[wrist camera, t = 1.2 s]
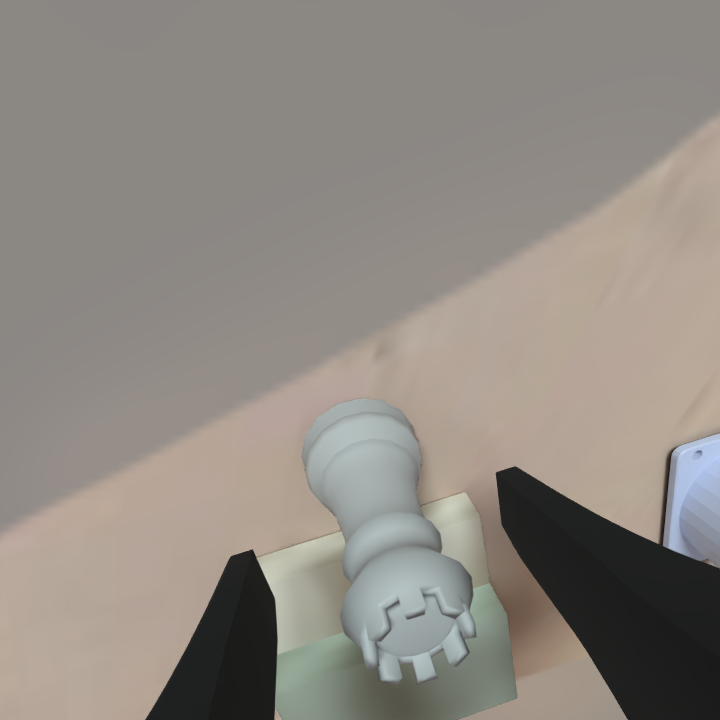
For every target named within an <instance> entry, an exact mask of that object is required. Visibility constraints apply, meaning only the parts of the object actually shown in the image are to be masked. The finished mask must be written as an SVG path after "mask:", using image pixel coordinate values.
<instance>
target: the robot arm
mask: <svg viewBox="0 0 720 720" xmlns="http://www.w3.org/2000/svg"><path fill="white" fill-rule="evenodd" d="M496 479H497V488H498V496H499V505H500V514H501V523H502V526H503V528H504V530H505V531H506V533H507V535H508V537H509V539H510V540H511V542H512V544H513V546H514V548H515V549H516V551H517V553H518V554H519V556H520V558H521V559H522V561H523V562H524V564H525V565H526V566H527V568H528V569H529V571H530V572H531V573H532V575H533V576H534V578H535V579H536V580H537V582H538V583H539V585H540V586H541V587H542V589H543V590H544V591H545V593H546V594H547V596H548V597H549V598H550V600H551V601H552V602H553V604H554V605H555V607H556V608H557V609H558V611H559V612H560V613H561V615H562V616H563V618H564V619H565V620H566V622H567V623H568V625H569V626H570V627H571V629H572V630H573V631H574V633H575V634H576V636H577V637H578V639H579V640H580V642H581V643H582V645H583V646H584V648H585V649H586V651H587V652H588V654H589V656H590V657H591V659H592V660H593V662H594V664H595V665H596V667H597V669H598V670H599V672H600V673H601V675H602V677H603V679H604V680H605V682H606V684H607V685H608V687H609V688H610V690H611V692H612V693H613V695H614V697H615V699H616V700H617V702H618V704H619V705H620V707H621V709H622V711H623V712H624V714H625V716H626V717H627V719H628V720H720V433H719V434H716V435H712V436H709V437H706V438H703V439H700V440H697V441H694V442H691V443H687V444H684V445H681V446H679V447H677V448H676V449H675V450H674V451H673V453H672V456H671V465H670V476H669V486H668V497H667V507H666V518H665V528H664V539H663V546H662V545H660V544H657V543H655V542H653V541H650V540H648V539H646V538H644V537H641V536H639V535H637V534H635V533H633V532H631V531H629V530H627V529H625V528H623V527H621V526H619V525H617V524H615V523H613V522H611V521H609V520H607V519H605V518H603V517H601V516H599V515H597V514H596V513H594V512H592V511H590V510H588V509H587V508H585V507H583V506H581V505H579V504H578V503H576V502H574V501H572V500H571V499H569V498H567V497H565V496H564V495H562V494H560V493H559V492H557V491H555V490H554V489H552V488H550V487H549V486H547V485H545V484H544V483H542V482H540V481H539V480H537V479H536V478H534V477H532V476H531V475H529V474H527V473H526V472H524V471H522V470H521V469H519V468H517V467H516V466H515V467H511V468H508V469H505V470H502V471H499V472H496ZM706 559H709V560H710V561H711V562H713V563H714V564H715V565H716V566H718V567H719V568H717V567H715V566H712V565H709V564H706V563H704V562H701V561H703V560H706ZM277 647H278V635H277V617H276V603H275V597H274V595H273V593H272V591H271V589H270V586H269V584H268V582H267V580H266V578H265V575H264V573H263V571H262V569H261V567H260V564H259V562H258V560H257V558H256V556H255V553H254V551H253V549H252V550H249V551H246V552H243V553H240V554H237V555H233V556H231V557H230V559H229V560H228V563H227V565H226V567H225V569H224V571H223V574H222V576H221V578H220V580H219V582H218V585H217V587H216V589H215V591H214V593H213V595H212V598H211V600H210V602H209V604H208V606H207V608H206V610H205V612H204V614H203V616H202V618H201V620H200V622H199V624H198V626H197V628H196V630H195V632H194V634H193V636H192V638H191V640H190V642H189V644H188V646H187V648H186V650H185V652H184V654H183V655H182V657H181V659H180V661H179V663H178V665H177V666H176V668H175V670H174V672H173V674H172V676H171V677H170V679H169V681H168V683H167V684H166V686H165V688H164V690H163V691H162V693H161V695H160V696H159V698H158V700H157V702H156V703H155V705H154V707H153V708H152V710H151V711H150V713H149V715H148V716H147V718H146V719H145V720H274V715H275V694H276V672H277Z"/></svg>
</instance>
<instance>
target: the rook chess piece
mask: <svg viewBox="0 0 720 720" xmlns="http://www.w3.org/2000/svg"><path fill="white" fill-rule="evenodd" d="M302 459H303V463H304V466H305V473H306V476H307V480H308V483H309V487H310V489H311V491H312V493H313V494H314V495H315V496H316V497H317V498H318V500H319V501H320V502H321V503H322V504H323V505H324V506H325V507H326V508H328V509H329V510H330V511H331V512H332V514H333V515H334V516H336V518H337V520H338V523H339V526H340V529H341V531H342V534H343V537H344V539H345V547H344V551H343V555H342V559H341V565H342V568H343V572H344V576H345V577H346V578H347V579H348V580H349V581H350V582H351V583H352V585H351V587H350V588H349V590H348V592H347V593H346V595H345V598H344V601H343V605H342V609H341V613H340V620H341V623H342V626H343V630H344V633H345V635H346V636H347V637H348V638H349V639H351V640H352V641H353V642H354V643H355V644H356V645H357V646H359V647H360V648H361V649H362V651H363V657H364V660H365V664H366V668H367V671H370V670H372V669H374V668H376V667H377V672H378V677H379V682H383V683H387V684H391V685H394V686H397V685H398V684H399V682H400V681H401V679H402V674H401V670H400V666H399V664H412V667H413V671H414V674H415V678H416V681H417V685H419V684H422V683H425V682H428V681H432V680H435V679H438V676H437V673H436V670H435V667H434V664H433V661H432V658H431V657H433V656H435V655H436V654H438V653H440V652H441V651H443V650H444V651H445V653H446V656H447V659H448V662H449V663H450V664H452V665H454V666H455V667H457V666H458V665H459V664H460V663H461V662H462V661H463V660H464V659H465V658H466V657H467V656H468V654H469V653H470V652H469V649H468V647H467V644H466V642H465V640H464V639H469V638H475V637H477V636H476V627H475V621H474V619H473V617H472V615H471V613H470V607H471V604H472V600H473V596H474V594H473V584H472V577H471V575H470V574H469V573H468V571H467V570H466V569H465V568H464V566H463V565H462V564H461V563H460V562H459V561H457V560H454V559H452V558H450V557H447V556H445V555H443V554H441V551H442V541H441V534H440V532H439V531H438V530H437V528H436V527H435V526H434V525H433V523H432V522H431V521H429V520H427V519H425V517H424V514H423V512H422V510H421V506H420V502H419V498H418V494H417V490H416V487H417V484H418V480H419V472H420V469H421V466H422V464H421V455H420V448H419V441H418V439H417V437H416V436H415V435H414V430H413V426H412V425H411V423H410V422H409V421H408V419H407V418H406V416H405V415H404V413H403V412H402V411H401V410H399V409H397V408H395V407H393V406H392V405H390V404H388V403H386V402H385V401H380V400H371V399H363V398H360V399H356V400H352V401H348V402H344V403H340V404H337V405H336V406H334V407H333V408H331V409H330V410H328V411H327V412H325V413H324V414H322V415H321V416H319V417H318V418H317V420H316V421H315V422H314V424H313V425H312V427H311V428H310V430H309V431H308V432H307V434H306V435H305V440H304V445H303V451H302Z"/></svg>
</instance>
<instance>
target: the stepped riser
mask: <svg viewBox="0 0 720 720" xmlns="http://www.w3.org/2000/svg"><path fill="white" fill-rule="evenodd" d="M421 510H422V512H423V514H424V517H425V519H427V520H429V521H431V522H432V523H433V525H434V526H435V527H436V528H437V530H438V531H439V532H440V534H441V541H442V551H441V554H443V555H445V556H447V557H450V558H452V559H454V560H457V561H459V562H460V563H461V564H462V565H463V566H464V568H465V569H466V570H467V571H468V573H469V574H470V575H471V577H472V584H473V594H474V596H473V600H472V604H471V607H470V613H471V615H472V617H473V619H474V621H475V627H476V636H477V637H475V638H469V639H464V640H465V642H466V644H467V647H468V649H469V652H470V653H469V654H468V656H467V657H466V658H465V659H464V660H463V661H462V662H461V663H460V664H459V665H458V666H457V667H455V666H454V665H452V664H450V663H449V662H448V659H447V656H446V653H445V651H444V650H443V651H441V652H440V653H438V654H436V655H435V656H433V657H431V658H432V661H433V664H434V667H435V670H436V673H437V676H438V679H435V680H432V681H428V682H425V683H422V684H419V685H417V681H416V678H415V674H414V671H413V667H412V664H399V666H400V670H401V674H402V679H401V681H400V682H399V684H398V685H397V686H394V685H391V684H387V683H383V682H379V677H378V672H377V667H376V668H374V669H372V670H370V671H367V668H366V664H365V660H364V657H363V651H362V649H361V648H360V647H359V646H357V645H356V644H355V643H354V642H353V641H352V640H351V639H349V638H348V637H347V636H346V635H345V633H344V630H343V626H342V623H341V620H340V613H341V609H342V605H343V601H344V598H345V595H346V593H347V592H348V590H349V588H350V587H351V585H352V583H351V582H350V581H349V580H348V579H347V578H346V577H345V576H344V572H343V568H342V565H341V559H342V555H343V551H344V547H345V539H344V537H343V534H342V531H340V532H337V533H334V534H330V535H327V536H324V537H321V538H318V539H315V540H311V541H308V542H305V543H302V544H299V545H295V546H292V547H289V548H286V549H283V550H280V551H276V552H273V553H270V554H267V555H264V556H261V557H257V560H258V562H259V564H260V567H261V569H262V571H263V573H264V575H265V578H266V580H267V582H268V584H269V586H270V589H271V591H272V593H273V595H274V597H275V603H276V617H277V635H278V647H277V672H276V694H275V707H276V709H277V711H278V713H279V715H280V716H281V718H282V720H458V719H461V718H463V717H466V716H469V715H472V714H475V713H477V712H480V711H483V710H486V709H489V708H491V707H494V706H497V705H499V704H502V703H505V702H508V701H510V700H513V699H516V698H517V691H516V683H515V675H514V666H513V658H512V650H511V642H510V634H509V626H508V618H507V613H506V612H505V610H504V608H503V606H502V604H501V602H500V601H499V599H498V597H497V595H496V593H495V591H494V590H493V588H492V586H491V584H490V580H489V573H488V566H487V559H486V552H485V545H484V538H483V530H482V523H481V516H480V515H479V513H478V511H477V510H476V508H475V507H474V505H473V504H472V502H471V500H470V499H469V497H468V496H467V494H466V492H464V493H461V494H457V495H454V496H451V497H448V498H445V499H441V500H438V501H435V502H432V503H429V504H426V505H422V506H421Z"/></svg>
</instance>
